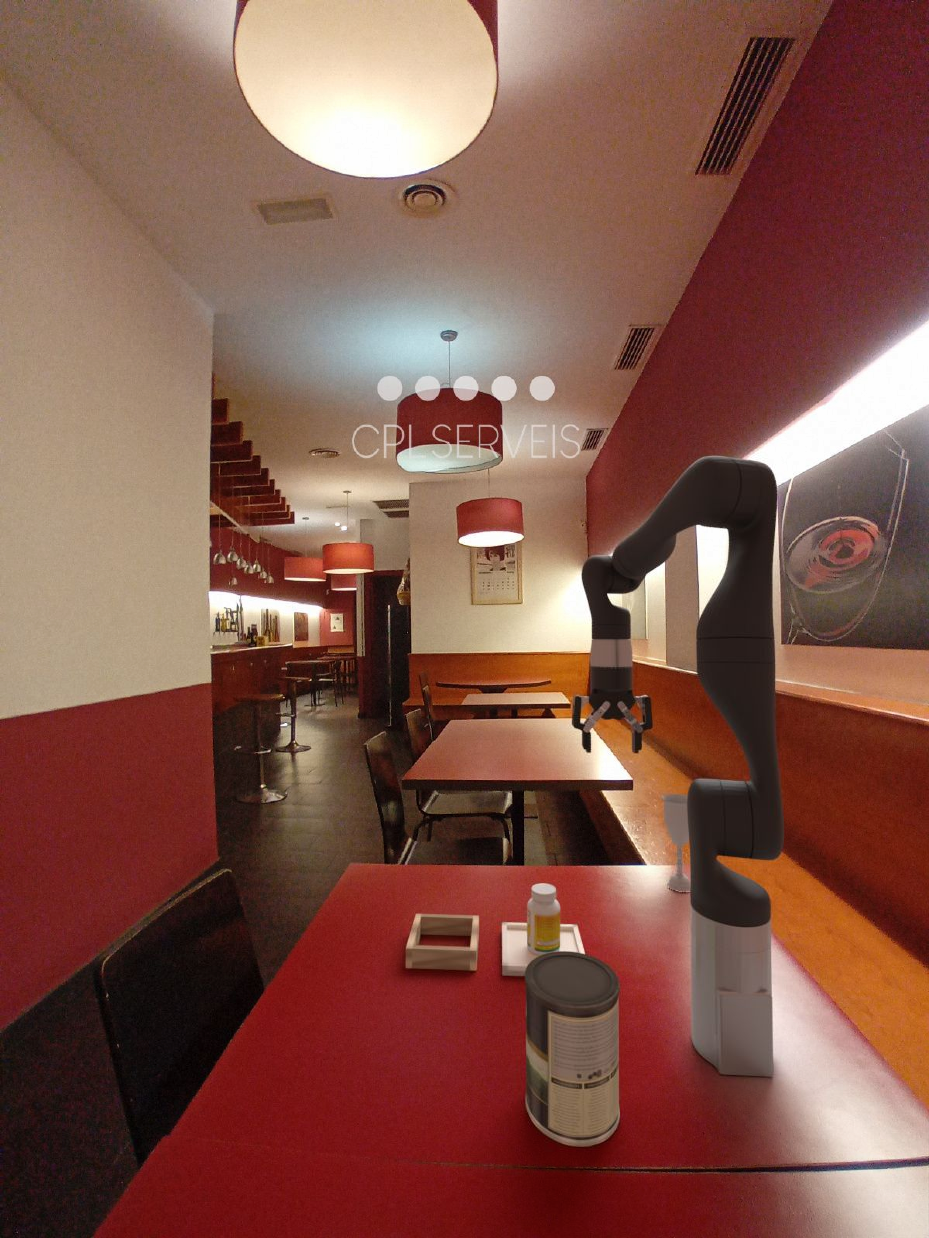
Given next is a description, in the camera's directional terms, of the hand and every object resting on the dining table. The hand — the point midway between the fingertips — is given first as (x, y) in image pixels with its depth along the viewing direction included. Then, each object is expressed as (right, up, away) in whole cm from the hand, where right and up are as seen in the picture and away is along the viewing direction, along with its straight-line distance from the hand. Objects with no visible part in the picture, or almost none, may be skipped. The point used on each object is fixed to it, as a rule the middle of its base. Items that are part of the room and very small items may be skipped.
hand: (611, 752), depth 104 cm
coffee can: (-15, -29, -42) cm, 53 cm away
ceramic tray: (-14, -30, -12) cm, 35 cm away
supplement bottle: (-14, -29, -12) cm, 35 cm away
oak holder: (-30, -30, -11) cm, 44 cm away
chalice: (+17, -31, +12) cm, 37 cm away
